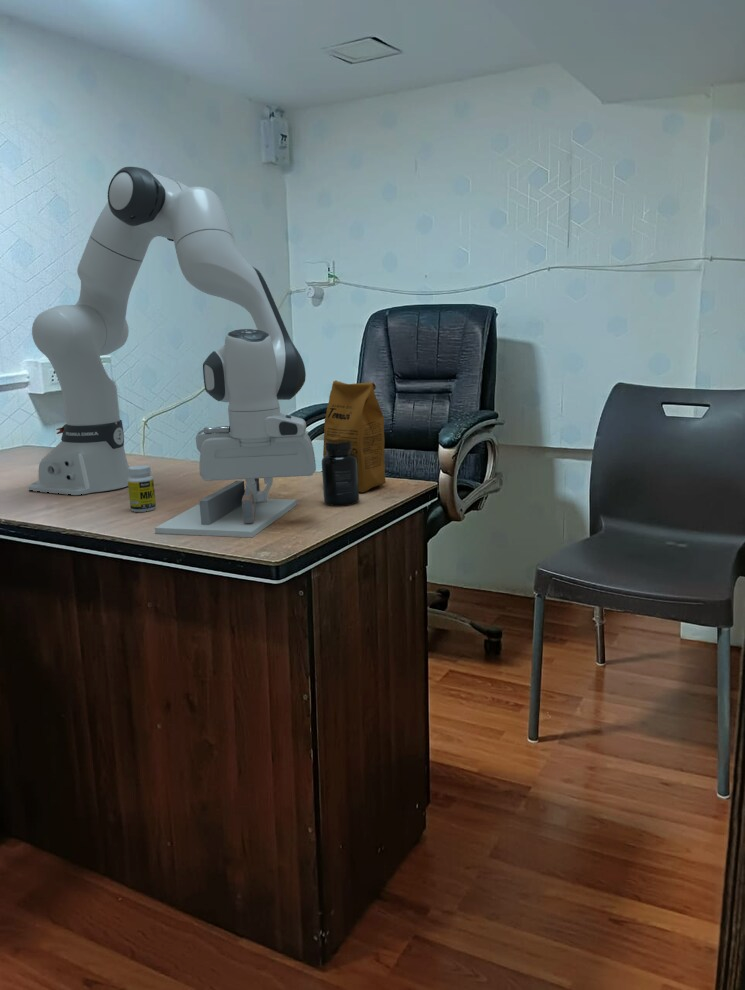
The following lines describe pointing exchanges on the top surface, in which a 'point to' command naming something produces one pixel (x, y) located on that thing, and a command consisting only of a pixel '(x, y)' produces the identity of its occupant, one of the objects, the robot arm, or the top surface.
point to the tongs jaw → (248, 506)
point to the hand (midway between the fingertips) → (260, 502)
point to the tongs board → (226, 515)
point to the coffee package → (358, 429)
